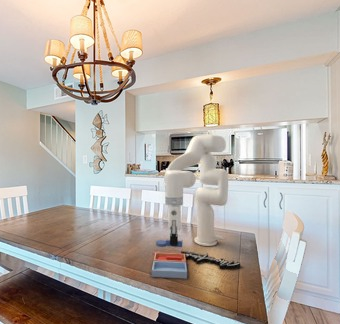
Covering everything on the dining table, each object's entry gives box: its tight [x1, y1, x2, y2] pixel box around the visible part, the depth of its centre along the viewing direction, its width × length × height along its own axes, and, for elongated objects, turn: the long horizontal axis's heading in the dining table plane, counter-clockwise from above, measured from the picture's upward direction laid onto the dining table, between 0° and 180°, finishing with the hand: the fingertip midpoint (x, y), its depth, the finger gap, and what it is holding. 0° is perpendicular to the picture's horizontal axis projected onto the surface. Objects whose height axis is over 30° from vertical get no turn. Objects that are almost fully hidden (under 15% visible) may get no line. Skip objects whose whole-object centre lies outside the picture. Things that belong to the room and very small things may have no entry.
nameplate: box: [180, 250, 241, 270], centre depth 98 cm, size 28×2×10 cm
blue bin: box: [151, 260, 188, 280], centre depth 88 cm, size 14×8×3 cm, turn 85°
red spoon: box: [158, 256, 182, 261], centre depth 97 cm, size 11×4×2 cm, turn 85°
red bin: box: [153, 252, 187, 263], centre depth 97 cm, size 14×8×3 cm, turn 85°
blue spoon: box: [155, 239, 183, 248], centre depth 89 cm, size 11×4×2 cm, turn 84°
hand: (173, 244), depth 88 cm, fingers closed on blue spoon, 1 cm apart
